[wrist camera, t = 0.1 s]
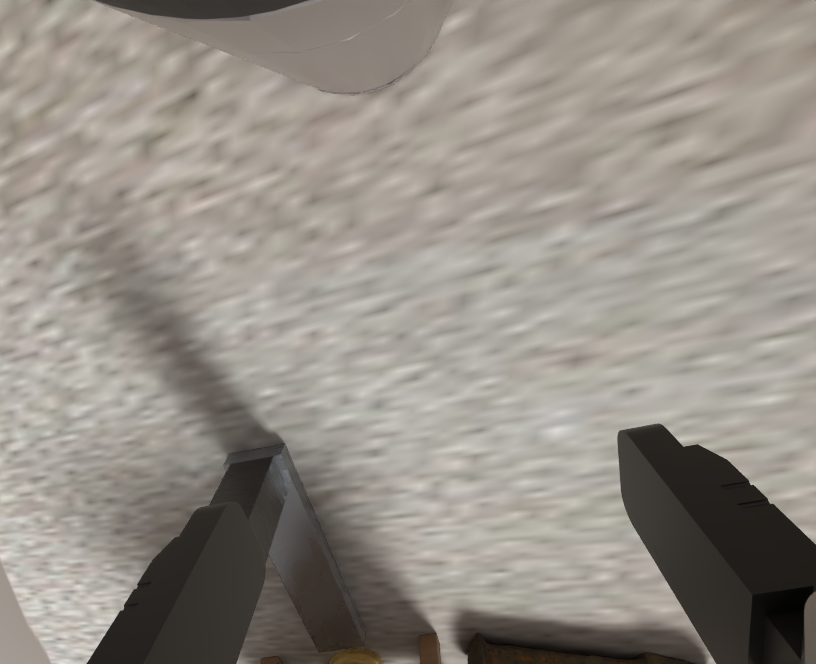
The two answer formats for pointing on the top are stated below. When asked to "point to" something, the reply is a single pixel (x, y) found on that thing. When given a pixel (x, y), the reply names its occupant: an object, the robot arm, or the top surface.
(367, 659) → the brass puck
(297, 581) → the grey l-shaped bracket
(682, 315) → the top surface
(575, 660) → the hand tool
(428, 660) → the walnut cabinet
